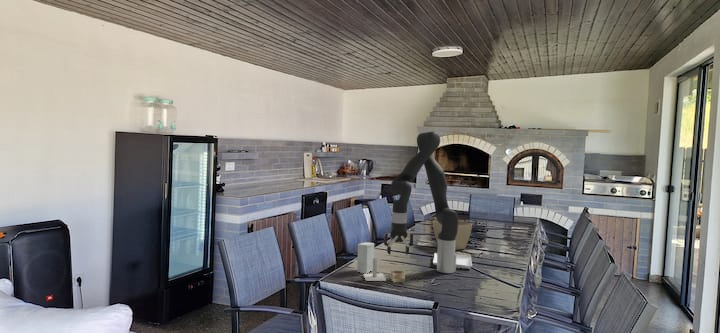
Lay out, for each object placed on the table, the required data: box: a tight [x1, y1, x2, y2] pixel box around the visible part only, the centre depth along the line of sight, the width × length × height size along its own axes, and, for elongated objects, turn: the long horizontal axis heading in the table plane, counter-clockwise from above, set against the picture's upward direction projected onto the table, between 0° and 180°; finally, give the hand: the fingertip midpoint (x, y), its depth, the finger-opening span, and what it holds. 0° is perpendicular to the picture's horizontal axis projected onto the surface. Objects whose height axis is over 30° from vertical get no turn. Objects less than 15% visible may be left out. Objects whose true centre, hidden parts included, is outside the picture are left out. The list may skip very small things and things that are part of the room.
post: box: [362, 257, 387, 282], centre depth 215 cm, size 10×10×10 cm
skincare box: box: [356, 241, 375, 274], centre depth 226 cm, size 8×6×15 cm
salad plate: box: [432, 252, 473, 270], centre depth 245 cm, size 21×21×3 cm
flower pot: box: [432, 219, 473, 251], centre depth 284 cm, size 19×19×17 cm
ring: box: [390, 270, 406, 283], centre depth 213 cm, size 6×6×4 cm
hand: (397, 254), depth 212 cm, fingers open, 8 cm apart
